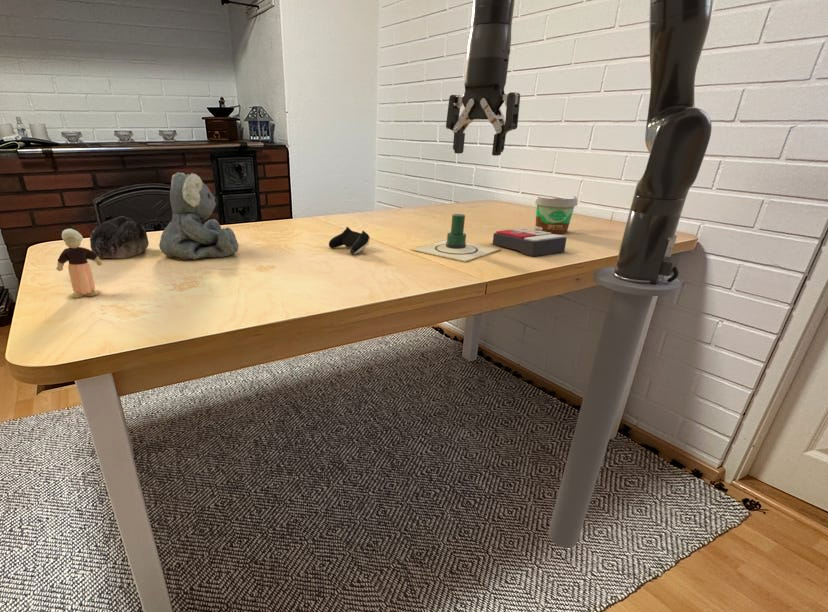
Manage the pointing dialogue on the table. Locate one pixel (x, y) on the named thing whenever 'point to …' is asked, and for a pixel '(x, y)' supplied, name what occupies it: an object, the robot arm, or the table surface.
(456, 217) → the dot stamp
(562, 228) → the food container
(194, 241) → the koala plush
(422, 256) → the table surface
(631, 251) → the robot arm
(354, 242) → the gaming controller
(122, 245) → the dark grey furry dome
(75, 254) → the grandmother figurine
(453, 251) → the paper sheet
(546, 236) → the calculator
